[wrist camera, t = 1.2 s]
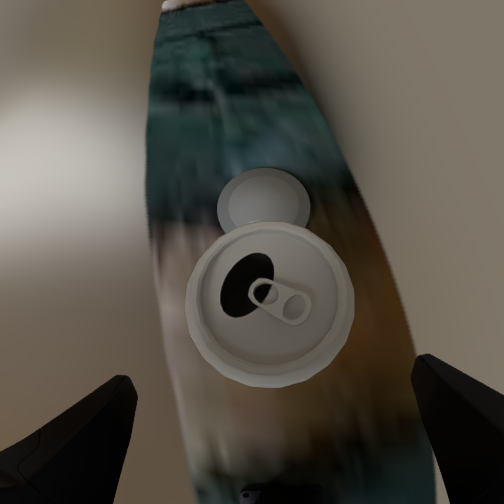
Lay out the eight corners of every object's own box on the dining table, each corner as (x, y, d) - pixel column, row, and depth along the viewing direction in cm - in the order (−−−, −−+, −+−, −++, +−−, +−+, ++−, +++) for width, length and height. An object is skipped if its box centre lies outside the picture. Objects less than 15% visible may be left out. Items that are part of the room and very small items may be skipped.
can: (255, 262, 24) (236, 177, 13) (337, 306, 22) (393, 255, 11) (206, 341, 22) (138, 324, 11) (290, 390, 20) (305, 428, 9)
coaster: (315, 247, 24) (316, 244, 23) (218, 255, 24) (217, 252, 24) (303, 168, 27) (303, 164, 26) (218, 175, 27) (217, 171, 26)
